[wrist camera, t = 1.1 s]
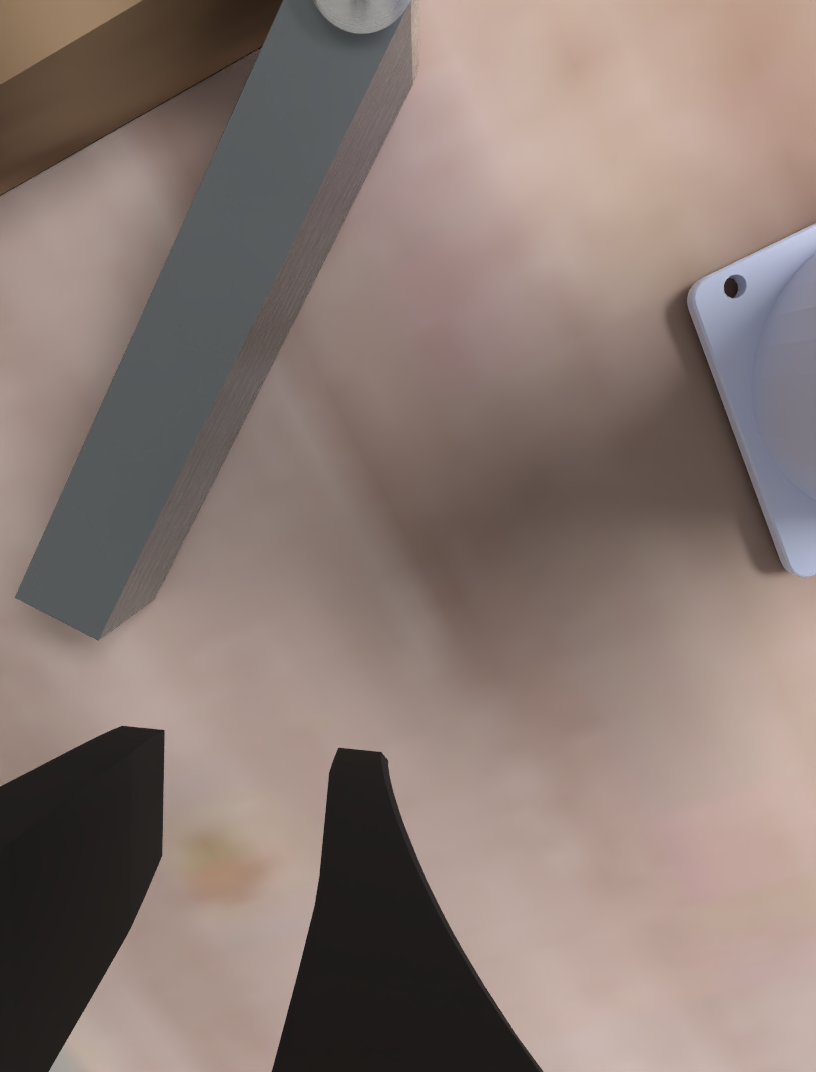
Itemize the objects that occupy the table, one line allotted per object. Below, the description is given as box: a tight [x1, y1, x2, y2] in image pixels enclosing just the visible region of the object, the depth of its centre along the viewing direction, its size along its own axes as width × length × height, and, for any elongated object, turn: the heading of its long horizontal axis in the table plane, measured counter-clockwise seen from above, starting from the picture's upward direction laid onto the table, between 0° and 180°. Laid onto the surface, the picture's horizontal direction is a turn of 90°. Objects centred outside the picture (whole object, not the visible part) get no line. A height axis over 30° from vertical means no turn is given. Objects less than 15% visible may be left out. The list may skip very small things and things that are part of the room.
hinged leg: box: [15, 0, 418, 641], centre depth 14 cm, size 15×2×4 cm, turn 150°
